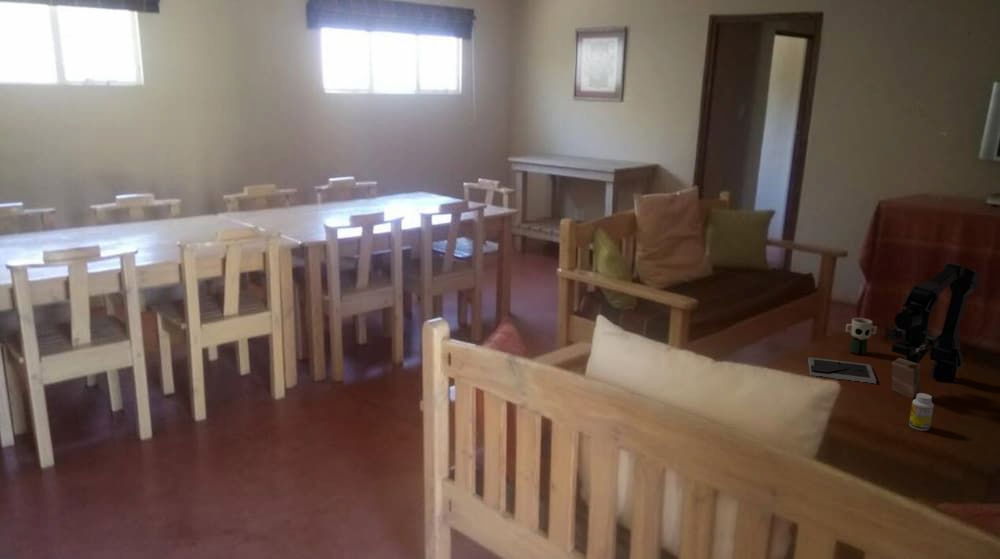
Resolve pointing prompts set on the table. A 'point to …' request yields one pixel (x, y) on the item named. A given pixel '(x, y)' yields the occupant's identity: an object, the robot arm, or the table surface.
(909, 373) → the streaky grey slab
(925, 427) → the supplement bottle
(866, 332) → the character mug
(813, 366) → the picture frame
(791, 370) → the table surface
